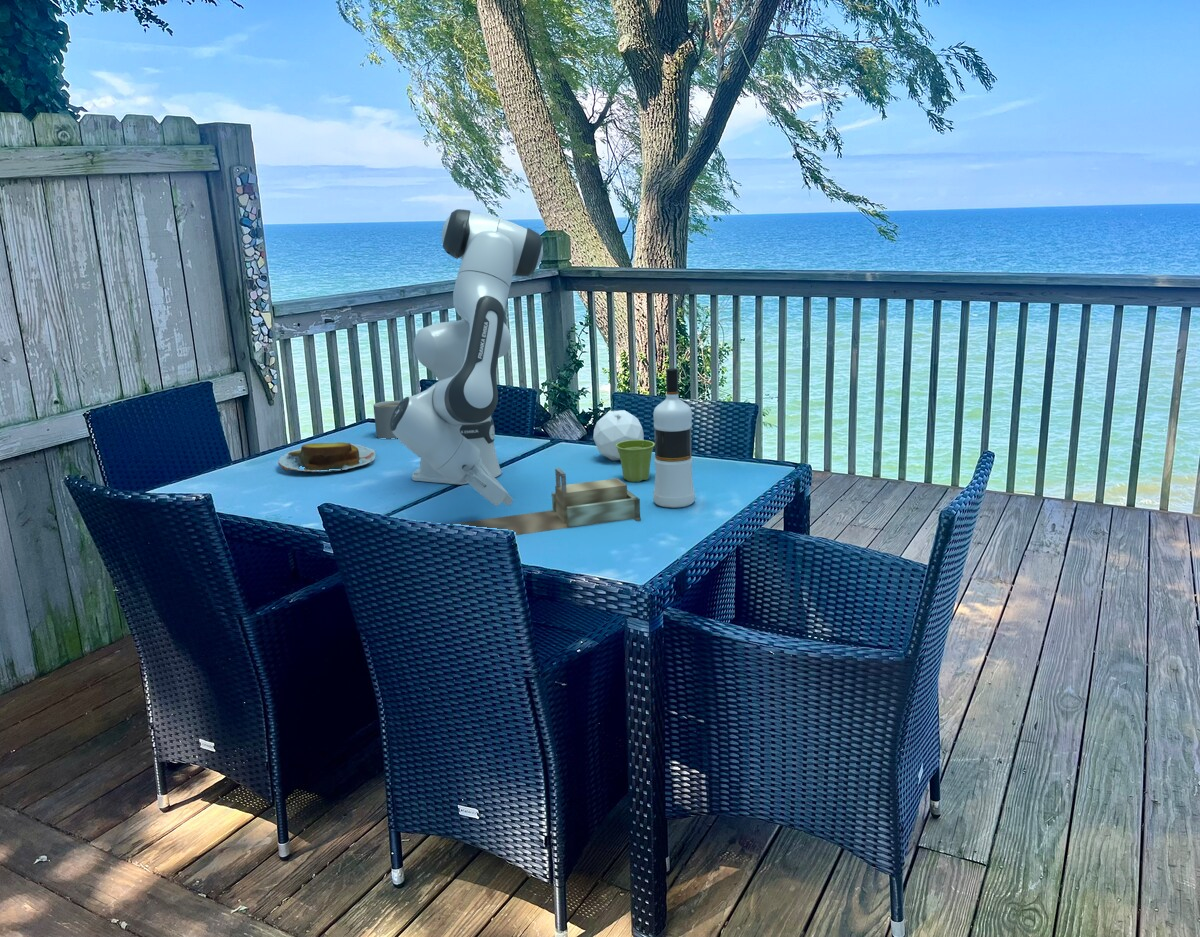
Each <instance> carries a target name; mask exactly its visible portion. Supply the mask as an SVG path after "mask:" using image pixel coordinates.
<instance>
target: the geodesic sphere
mask: <svg viewBox="0 0 1200 937" xmlns="http://www.w3.org/2000/svg"><path fill="white" fill-rule="evenodd" d="M644 435H645V434H644V430H643V426H642V424H641V422H640V420H639V418H638V417H636V416H635V415H633V414H631V413H630V412H628V411H626V410H625V409H623V410H616V409H612V410H610V411H608V412H606V413H605V414H604V415H603V416H602V417H601V418H600V419H599V420H597V421H596V424H595V425H594V429H593V436H592V437H593V438H592V439H593V440H594V443H595V444H594V445H595V447H596V448H597V450H598V452H599V454H601V455H603V456H604V457H605V458H607V459H609V460H610V461H612V462H614V461H621V460H620V455H619V453H618V448H616V444H617V443H619V442H623V441H628V440H645V439H644V437H645V436H644Z"/></svg>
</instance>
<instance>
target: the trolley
mask: <svg viewBox="0 0 1200 937" xmlns="http://www.w3.org/2000/svg"><path fill="white" fill-rule="evenodd" d="M554 472H555V485H554V490H555V492H554V493H555V494H556V513H557V516H558V517H559V518H560V519H561V520H562V521H563V522H564V523H567V507H569V506H577V505H584V504H592V503H599V502H607V501H614V500H622V499H627V490H628V485H627V484H626V483H624V481H621V480H620V479H619V478H618V477H617V478H608V479H602V480H592V481H585V482H577V483H570V484H567V477H566V476H567V473H566V472H565V471H564V470H562V469H561V468H560V467H555V468H554Z"/></svg>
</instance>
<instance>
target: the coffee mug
mask: <svg viewBox="0 0 1200 937" xmlns="http://www.w3.org/2000/svg"><path fill="white" fill-rule="evenodd" d="M401 401H402V400H386V401H380V402H376V403H373V404H372V405H373V414H374V424H375V425H374V426H375V434H376V438H377V437H378V438H377V439H379V438H386V439H385V440H391V439H390V438H397V437H396V436H395V435H394V434H393V432H392V431H391V428H390V420H391V417H392V414H393V412H394V410H395V408H396V407H397V406H398V404H399V403H400V402H401Z"/></svg>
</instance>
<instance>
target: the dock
mask: <svg viewBox="0 0 1200 937" xmlns="http://www.w3.org/2000/svg"><path fill="white" fill-rule="evenodd" d="M551 502H552V504H551V505H552V509H551V510H543V511H537V512H530V513H522V514H516V515H515V514H514V515H513V514H512V515H507V516H501V517H500V516H499V517H492V518H484V519H475V520H468V521H462V522H455V523H453V524H461V525H469V526H476V527H487V528H497V529H508V530H513V531H514V532H516V535H515V536H521V535H528V534H534V533H535V534H536V533H541V532H549V531H557V530H564V529H571V528H578V527H583V526H584V527H585V526H590V525H591V526H593V525H599V524H600V525H601V524H605V523H606V524H607V523H613V522H619V521H620V522H621V521H627V520H634V521H635V522H639V521H641V520H642V517H641V502H640V498H639V497H638V496H637V495H635V494H634V493H633V492H631V491H629V490H628V489H627V499H622V500H614V501H607V502H599V503H592V504H584V505H577V506H569V507H567V523H564V522H563V521H562V520H561V519H560V518H559V517H558V516H557V513H556V494H555V492H551Z"/></svg>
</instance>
